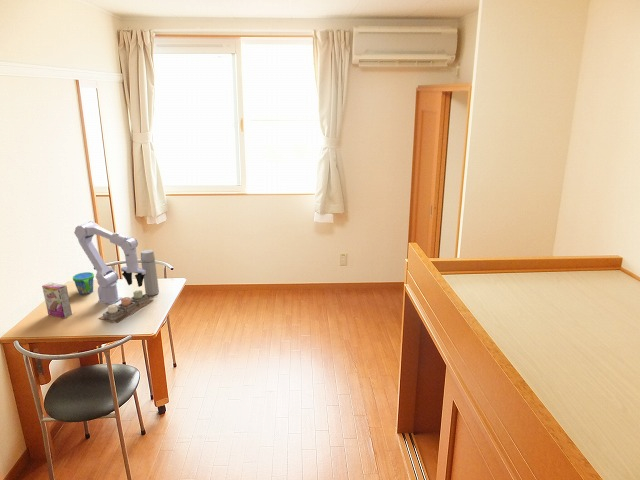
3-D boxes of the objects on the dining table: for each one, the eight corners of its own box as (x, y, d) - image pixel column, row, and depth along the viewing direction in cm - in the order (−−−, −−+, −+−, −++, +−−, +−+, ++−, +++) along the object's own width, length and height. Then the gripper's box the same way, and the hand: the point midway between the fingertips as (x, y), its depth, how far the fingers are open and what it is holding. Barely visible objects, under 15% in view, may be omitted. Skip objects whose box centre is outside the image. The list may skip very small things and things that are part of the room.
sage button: (132, 299, 240) (131, 293, 238) (138, 296, 243) (137, 290, 242) (139, 300, 238) (138, 294, 237) (144, 297, 242) (143, 291, 241)
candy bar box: (47, 315, 228) (41, 285, 223) (56, 311, 232) (50, 282, 227) (64, 318, 224) (58, 288, 219) (72, 314, 229) (67, 284, 224)
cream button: (106, 314, 223) (105, 307, 222) (113, 310, 227) (112, 303, 226) (113, 315, 222) (112, 308, 221) (120, 312, 226) (119, 305, 225)
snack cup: (98, 294, 251) (95, 278, 248) (77, 299, 246) (73, 282, 243) (94, 285, 264) (91, 269, 260) (74, 289, 258) (71, 273, 255)
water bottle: (162, 292, 254) (157, 250, 246) (150, 297, 247) (145, 254, 240) (151, 288, 258) (146, 247, 251) (140, 293, 252) (134, 251, 244)
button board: (98, 318, 224) (97, 313, 223) (135, 297, 247) (134, 292, 246) (117, 322, 220) (116, 317, 219) (153, 300, 243) (152, 295, 242)
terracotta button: (120, 306, 231) (119, 300, 230) (126, 303, 235) (125, 296, 234) (126, 308, 230) (125, 301, 229) (132, 304, 234) (132, 297, 233)
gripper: (115, 262, 232) (118, 286, 236) (137, 265, 227) (141, 290, 231) (124, 257, 238) (128, 281, 242) (147, 260, 234) (150, 284, 238)
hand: (135, 285), depth 237 cm, fingers open, 6 cm apart
